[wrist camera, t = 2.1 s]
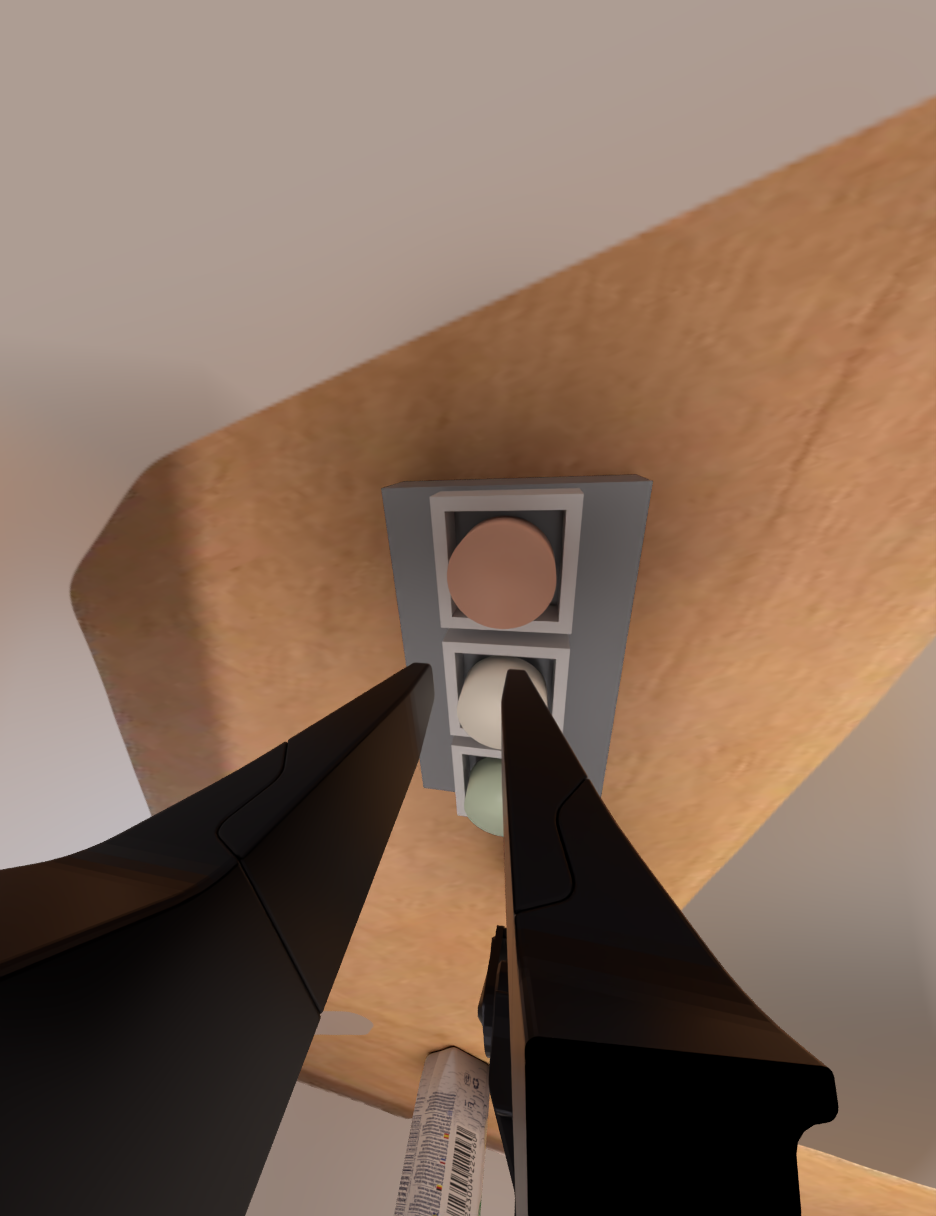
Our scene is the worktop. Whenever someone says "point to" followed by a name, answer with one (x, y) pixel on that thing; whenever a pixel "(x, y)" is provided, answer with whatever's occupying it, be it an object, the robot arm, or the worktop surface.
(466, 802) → the sage button
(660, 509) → the worktop surface
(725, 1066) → the robot arm
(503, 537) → the terracotta button
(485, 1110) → the juice carton
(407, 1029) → the worktop surface
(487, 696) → the cream button
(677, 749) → the worktop surface
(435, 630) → the grey button panel
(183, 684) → the worktop surface
